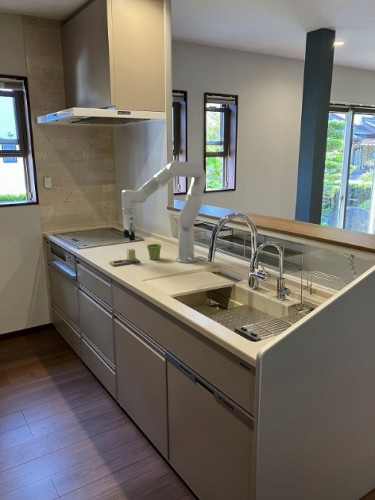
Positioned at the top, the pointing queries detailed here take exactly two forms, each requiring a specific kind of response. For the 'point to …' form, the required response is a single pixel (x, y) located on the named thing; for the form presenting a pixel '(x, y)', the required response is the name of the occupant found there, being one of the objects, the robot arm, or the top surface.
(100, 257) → the top surface
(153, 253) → the plant pot
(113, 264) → the rail
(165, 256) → the top surface
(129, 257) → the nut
